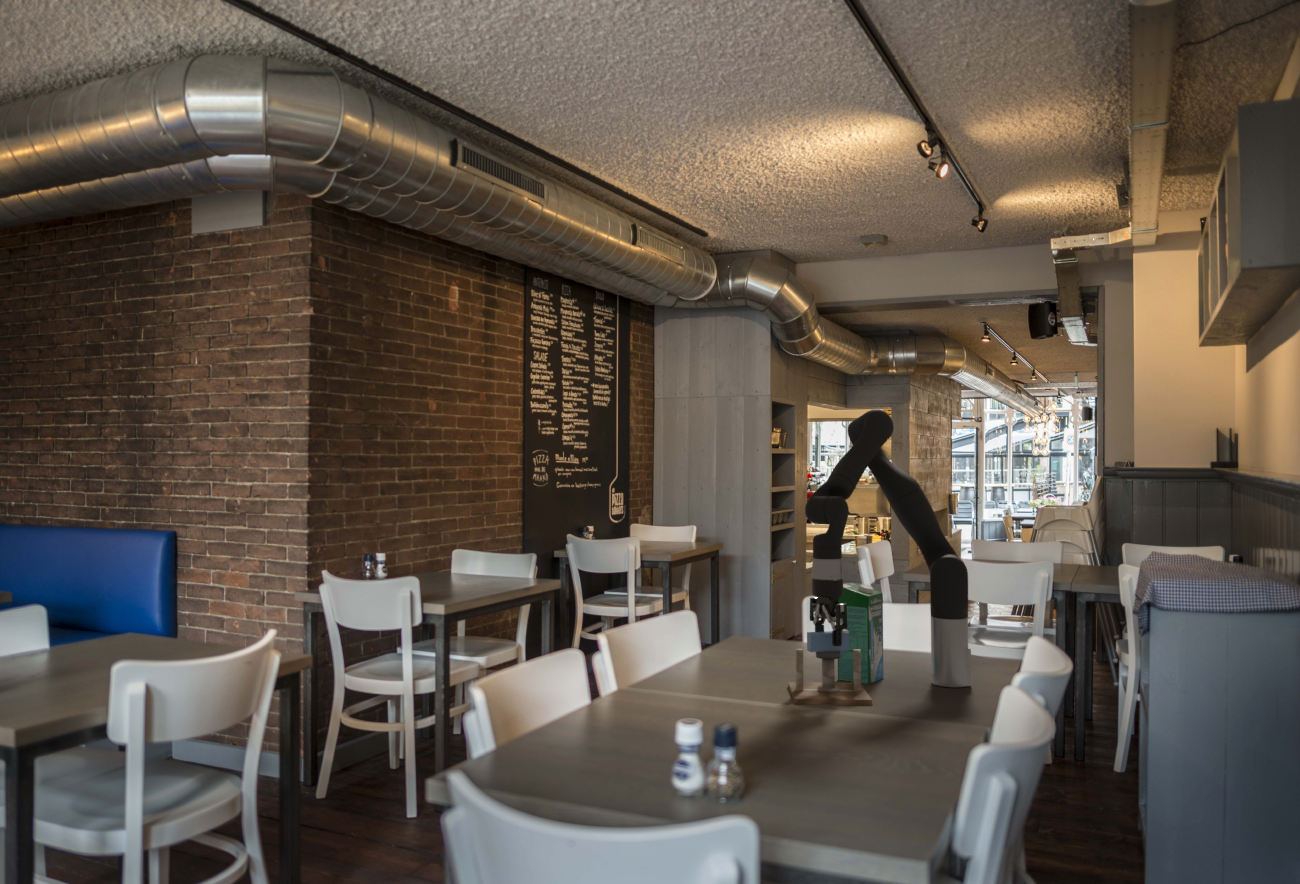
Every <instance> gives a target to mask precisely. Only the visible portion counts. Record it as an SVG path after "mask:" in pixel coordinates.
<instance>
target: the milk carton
mask: <svg viewBox="0 0 1300 884" xmlns="http://www.w3.org/2000/svg"><path fill="white" fill-rule="evenodd" d="M838 599H839V604H846V606H847V629H845V630H848V631H849V651H841V658H839V659H837V680H838V681H846V682H850V683H853V649H860V650H861V684H865V685H866V684H867V685H871V684H873V683H875V682H877V681H879V680H882V679H884V678H885V677H884V675H885V674H884V672H885V671H884V612H883V611H884V609H883V608H884V607H883V605H884V604H883V602H884V599H883V591H882V592H881V591H879V590H876V589H875V588H874V587H873V586H871V585H868V584H862V583H860V584H859V583H855V582H846V583H843V596H841V597H839V598H838ZM841 621H842V624H843V619H842V620H841Z"/></svg>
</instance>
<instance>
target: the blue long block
mask: <svg viewBox="0 0 1300 884" xmlns="http://www.w3.org/2000/svg"><path fill="white" fill-rule="evenodd" d="M832 631H833V630H832ZM832 631H831V630H830V631H824V632H815V631H807V632H806V651H807V652H810V653H815V658H817V659H821V660H822V659H834V660H838V659H839V658H841V651H849V631H848V630H845V629H843V630H842V645H841V646H833V645H832Z"/></svg>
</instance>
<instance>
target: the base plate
mask: <svg viewBox="0 0 1300 884" xmlns="http://www.w3.org/2000/svg"><path fill="white" fill-rule="evenodd" d="M835 666H836V665H835V659H821V674H822V675H821V681H817V682H816V681H815V682H814V681H804V649H803V648H795V681H794V682H793V681H788V682H787V683H788V684H787V686H788V689H789V692H790V695H791V697H792V699H793V702H794V704H795V705H830V706H831V705H835V706H836V705H837V706H841V705H843V706H844V705H847V706H849V705H850V706H853V705H854V706H856V705H858V706H859V705H860V706H873V699H872V697H871V696H870V695H869V693H868V692H867V690H866V689H865V688H864V687H863V685H862V683H861V650H860V649H853V682H835V680H836V679H835V677H836V675H835V673H836V672H835V671H836V670H835V669H836V668H835Z"/></svg>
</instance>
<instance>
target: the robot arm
mask: <svg viewBox="0 0 1300 884" xmlns="http://www.w3.org/2000/svg"><path fill="white" fill-rule="evenodd" d="M894 428H895V427H894V422H893V418H891V416H890V415H889V413H887V411H885V410H883V409H880V408H873V409H871V410H868V411H867V412H864V413H863V414H861V415H860V416H859V417H857V418H855V419H854V420H852V421H851V422H850V423H849V424H848V426H847V435H848V439H849V440H850V443H851V444H852V445H851V447H850V448H849V450H848V451H847V452H846V453H845V454H844V455H843V456H842V457H841V458H840V460H839V461H838V462H837V464H836V465H835V466H834V467H833V469H832V471H831V473H830V475H829V476H828V478H827V480H826V481H825V482H824V483H822V485H820V486H819V487H818V488H817V489H816V490H815V491H814V492H813V493H812V494H811V495H810V496H809V498H808V499H807V501H806V503H805V507H804V513H805V517H806V519H807V520H808V521H809V522H810V523H812V524H816V525H828V527H827V529H826V532H824V533H818V534H816V535H814V536H813V539H812V564H811V585H812V586H811V587H812V588H811V589H812V592H811V594H812V596H813V597H810V598H809V621H810V622H812V623H813V625H814V632H825V624H824V623H825V622H826V620H827V622H828V623H829V624H830V626H831V629H832V645H833V646H841V645H842V630H843V629H847V606H846V604H839V599H838V598H839V597H841V596H843V584H844V566H843V558H842V557H843V553H842V550H843V547H842V544H843V543H842V542H843V538H844V533H845V528H846V525H847V521H848V518H849V505H848V502H847V500H848V499H849V498H851V496H852V494H853V492H854V491H855V489H856V487H857V485H858V484H859V482H860V480H861V478H862V476H863V475H864V472H865V471H866V469H867V468H868V469H869V471H870V473H871V474H872V475H873V477H874V479H875V480H876V482H877V483H878V486H879V487H880V489H881V490H882V493H883V494H884V496H885V498H886V500H887V502H888V504H889V505H890V508H891V509H892V510H893V512H894V515H895V516H896V518H897V519H898V521H899V523H901V525H902V527H903V528H904V530H905V531H906V532H907V533H908V535H909V536H910V537H911V539H912V540H913V541H914V542H915V544H916V546H917V547H918V549H919V550H920V551H919V552H921V555H922V557H923V559H924V561H925V563H926V565H927V566H926V567H927V568H928V571H929V582H930V584H929V586H930V587H929V588H930V589H929V590H930V605H929V606H930V647H931V648H930V653H931V654H930V661H931V662H930V663H931V664H930V666H931V667H930V668H931V670H930V671H931V674H930V676H931V683H932V685H934V686H939V687H946V688H965V687H972V648H970V647H969V572H968V568H967V566H966V564H965V562H964V561H963V560H962V558H960V556H959V555H958V554H957V552H956V551H955V549H954V548H953V547H952V545H951V544H950V542H949V541H948V539H947V537H946V536H945V535H944V532H943V531H942V529H941V526H940V523H939V522H938V521H939V520H938V519H937V516H936V513H935V512H934V509H933V507H932V505H931V503H930V501H929V500H928V497H927V496H926V494H925V492H924V490H923V488H922V487H921V485H920V483H919V482H918V481H917V480H916V479H915V478H914V477H913V476H912V475H910V474H908V473H907V472H906V471H904V470H902V469H901V468H899V467H898V466H897V465H895V464H894V463H893V462H892V461H891V460H890V459H889V458H888V457H887V454H886V453H885V452H884V451H883V449H882V447H883V446H884V444H886V443H887V442H888V440H889V439H890V438H891V437H892V435H893V432H894ZM842 619H843V624H842V621H841V620H842Z"/></svg>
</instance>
